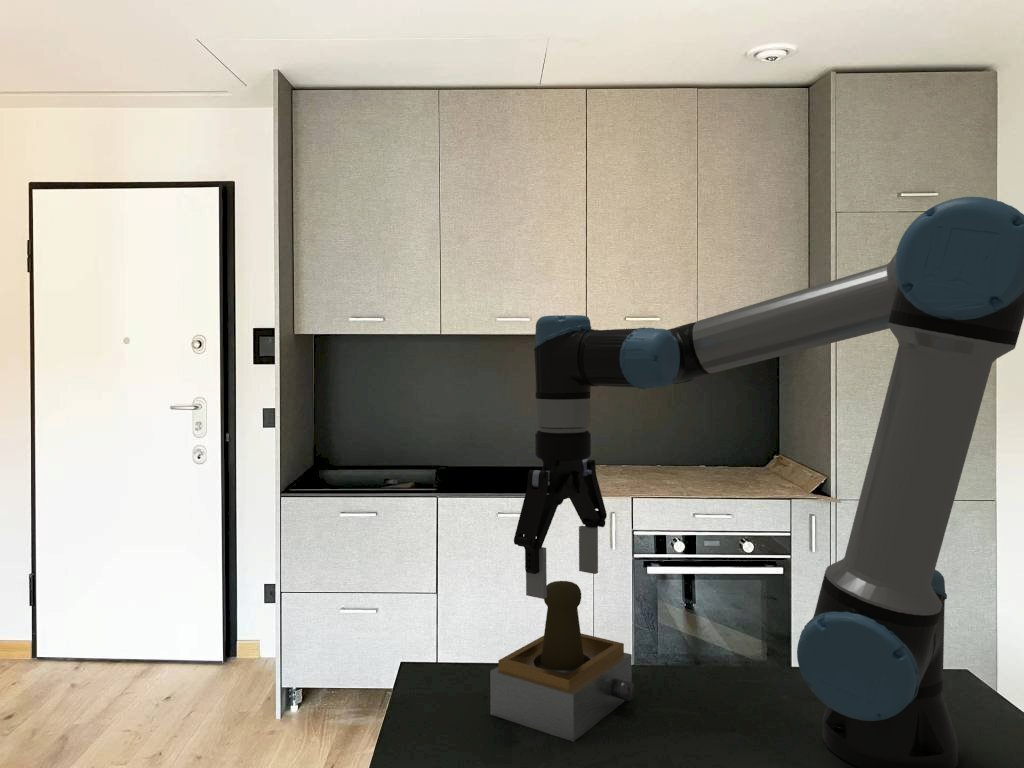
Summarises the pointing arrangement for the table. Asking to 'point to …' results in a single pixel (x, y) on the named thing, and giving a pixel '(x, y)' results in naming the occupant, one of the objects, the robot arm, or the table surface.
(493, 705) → the grey box with hole
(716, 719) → the table surface
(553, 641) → the cork
